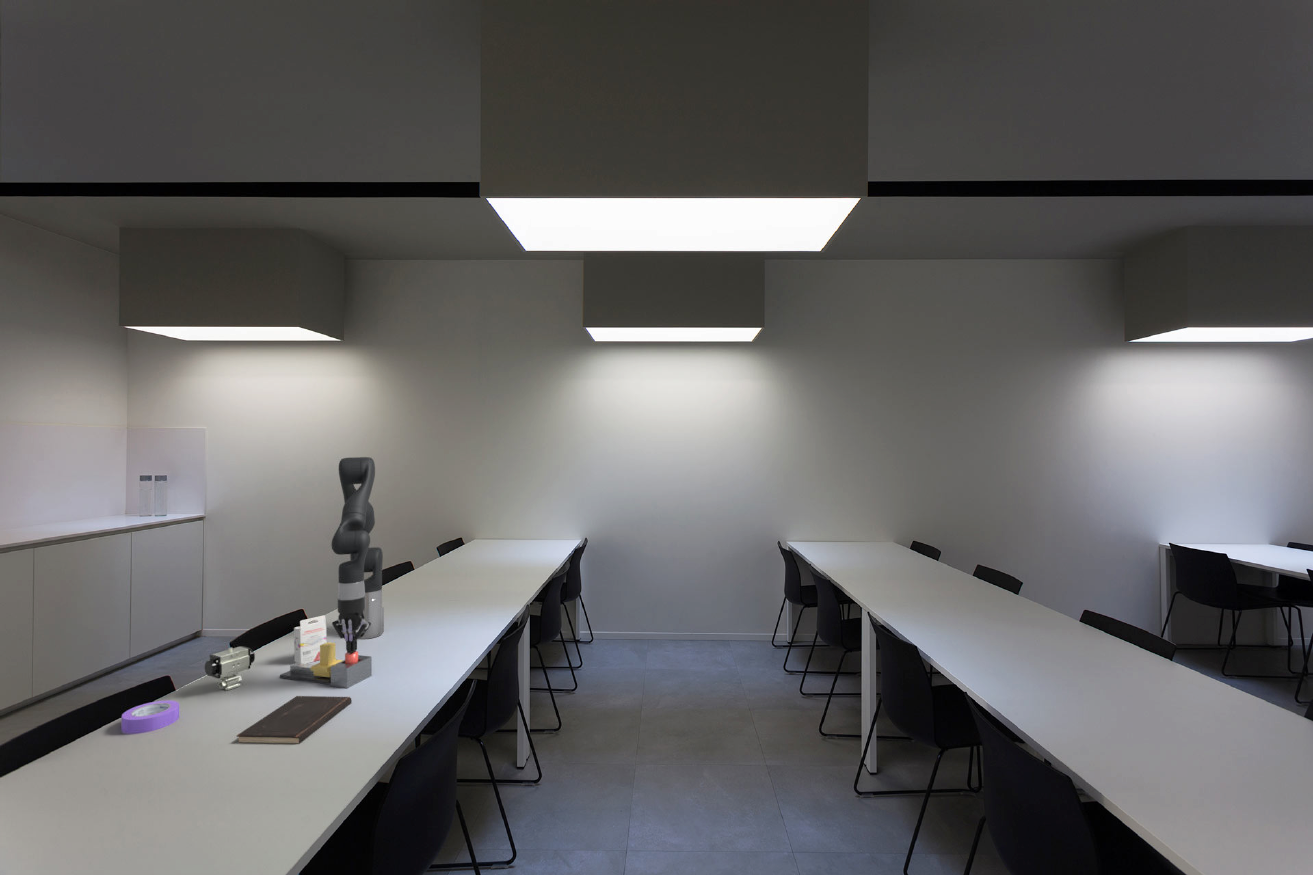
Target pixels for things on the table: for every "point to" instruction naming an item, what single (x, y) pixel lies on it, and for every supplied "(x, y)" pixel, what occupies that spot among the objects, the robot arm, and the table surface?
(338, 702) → the hardcover book
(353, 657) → the button
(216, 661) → the pneumatic valve
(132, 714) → the masking tape
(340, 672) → the grey button housing
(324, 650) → the yellow flanged block
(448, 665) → the table surface
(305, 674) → the rail
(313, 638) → the ink cartridge box
